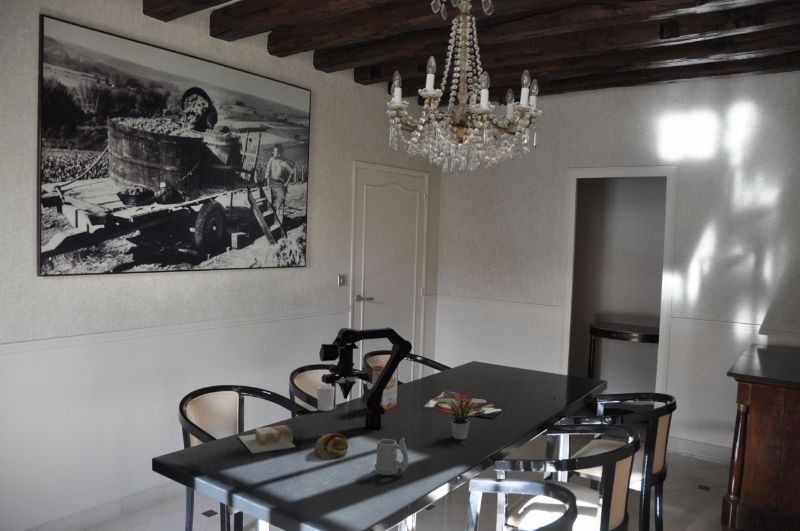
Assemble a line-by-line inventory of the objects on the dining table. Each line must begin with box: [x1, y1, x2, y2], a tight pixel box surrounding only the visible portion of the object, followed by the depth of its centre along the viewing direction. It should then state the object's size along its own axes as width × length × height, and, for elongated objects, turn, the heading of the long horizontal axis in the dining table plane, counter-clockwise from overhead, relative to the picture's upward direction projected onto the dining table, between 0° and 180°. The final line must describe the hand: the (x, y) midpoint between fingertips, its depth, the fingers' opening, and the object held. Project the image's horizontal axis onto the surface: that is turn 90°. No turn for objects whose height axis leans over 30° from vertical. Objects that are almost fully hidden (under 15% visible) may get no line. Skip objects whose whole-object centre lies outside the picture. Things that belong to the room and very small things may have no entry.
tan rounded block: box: [254, 424, 294, 445], centre depth 234 cm, size 4×8×12 cm
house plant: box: [447, 396, 477, 440], centre depth 243 cm, size 14×14×16 cm
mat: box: [238, 433, 296, 454], centre depth 233 cm, size 16×20×1 cm
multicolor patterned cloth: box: [423, 390, 502, 419], centre depth 292 cm, size 35×35×2 cm
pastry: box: [313, 432, 349, 461], centre depth 222 cm, size 14×12×8 cm
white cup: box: [316, 384, 336, 412], centre depth 281 cm, size 8×8×10 cm
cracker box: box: [371, 360, 399, 412], centre depth 284 cm, size 14×6×21 cm, turn 151°
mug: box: [374, 437, 409, 476], centre depth 204 cm, size 8×12×12 cm, turn 63°
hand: (345, 398), depth 249 cm, fingers closed
